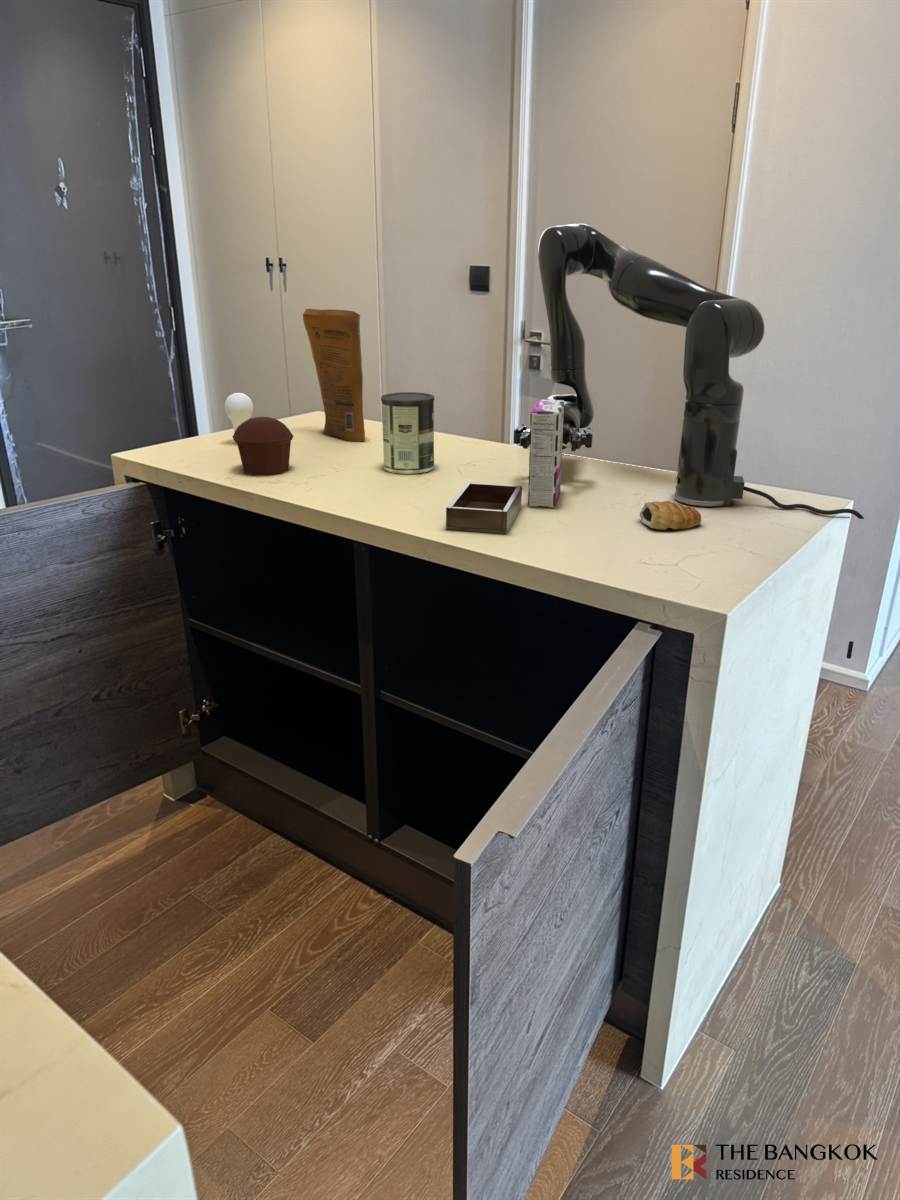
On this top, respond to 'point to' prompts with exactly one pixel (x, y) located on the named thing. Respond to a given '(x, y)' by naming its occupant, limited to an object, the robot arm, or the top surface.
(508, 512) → the open box
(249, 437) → the muffin
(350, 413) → the pancake mix bag
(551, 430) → the candy bar box
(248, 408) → the lightbulb
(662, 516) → the pastry
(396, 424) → the coffee can
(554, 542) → the top surface
